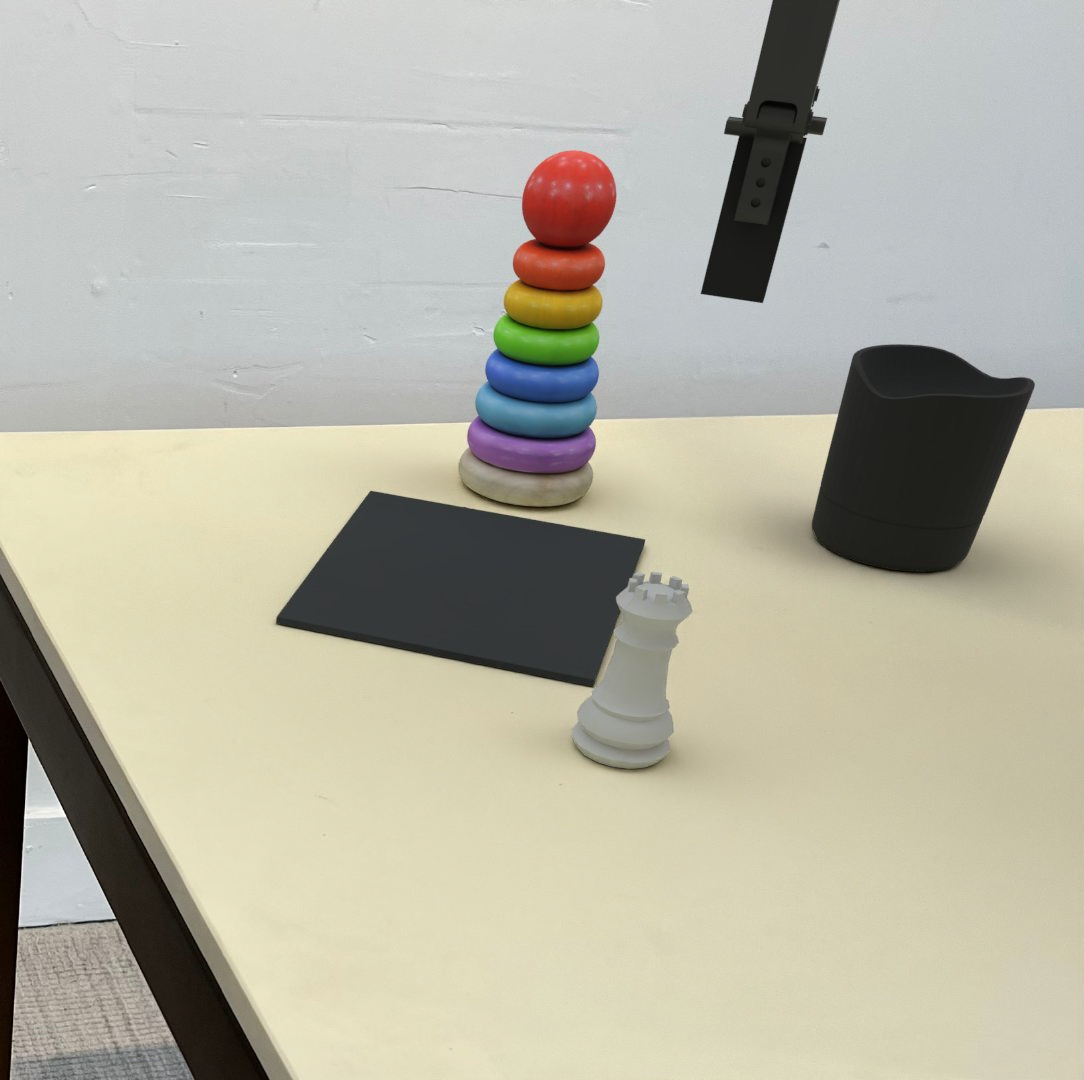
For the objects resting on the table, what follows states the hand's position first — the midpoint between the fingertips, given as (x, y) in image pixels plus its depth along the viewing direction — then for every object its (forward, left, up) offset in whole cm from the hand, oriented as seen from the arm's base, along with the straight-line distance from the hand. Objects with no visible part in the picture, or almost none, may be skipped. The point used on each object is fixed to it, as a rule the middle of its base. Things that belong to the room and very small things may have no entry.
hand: (733, 294), depth 82 cm
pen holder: (-11, -22, -18) cm, 30 cm away
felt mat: (+10, -5, -18) cm, 21 cm away
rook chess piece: (0, +11, -18) cm, 21 cm away
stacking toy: (+10, -21, -18) cm, 29 cm away
